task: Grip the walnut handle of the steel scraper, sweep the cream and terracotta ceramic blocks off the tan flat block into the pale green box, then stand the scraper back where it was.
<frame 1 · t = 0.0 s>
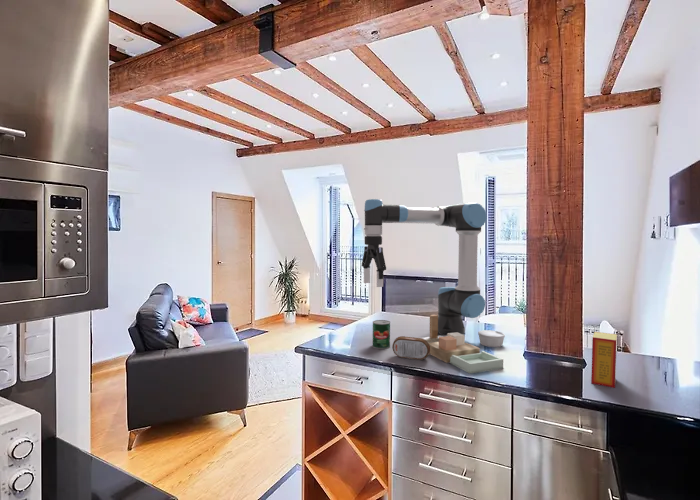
hand: (373, 284, 167), 28 cm above the worktop, tool pointing down, fingers open, 13 cm apart
scraper: (433, 346, 173), on the worktop
tan flat block: (452, 355, 160), on the worktop
terracotta block: (447, 348, 157), point 4 cm above the worktop, touching tan flat block
cream block: (455, 343, 163), point 4 cm above the worktop, touching tan flat block
canned tomato: (381, 346, 173), on the worktop
ramekin: (491, 345, 176), on the worktop
tin: (410, 358, 156), on the worktop
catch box: (476, 365, 147), on the worktop
baking soda box: (603, 381, 132), on the worktop
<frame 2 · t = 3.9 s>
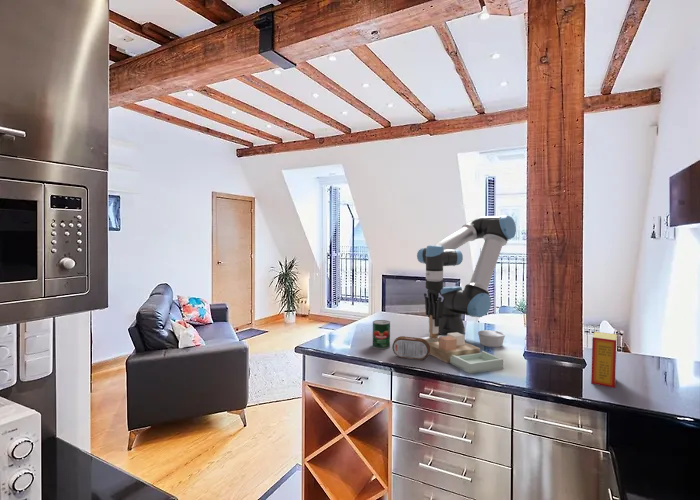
hand: (433, 332, 173), 6 cm above the worktop, tool pointing down, fingers closed on scraper, 2 cm apart
scraper: (433, 346, 173), on the worktop, touching gripper
everything else where it was.
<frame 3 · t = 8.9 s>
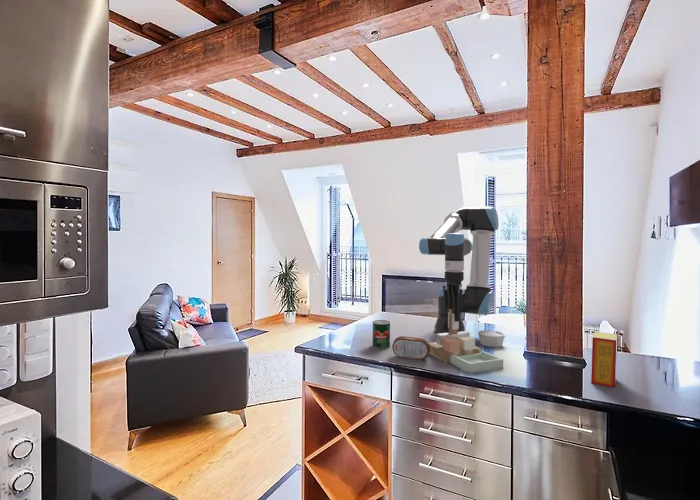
hand: (453, 328, 159), 11 cm above the worktop, tool pointing down, fingers closed on scraper, 2 cm apart
scraper: (453, 342, 159), point 5 cm above the worktop, touching gripper
terracotta block: (451, 349, 154), point 4 cm above the worktop, touching tan flat block
cream block: (465, 348, 157), point 4 cm above the worktop, touching tan flat block
everything else where it was.
when the fingers open (8 cm above the worktop, at t = 15.6 s): scraper drops 2 cm, on the worktop.
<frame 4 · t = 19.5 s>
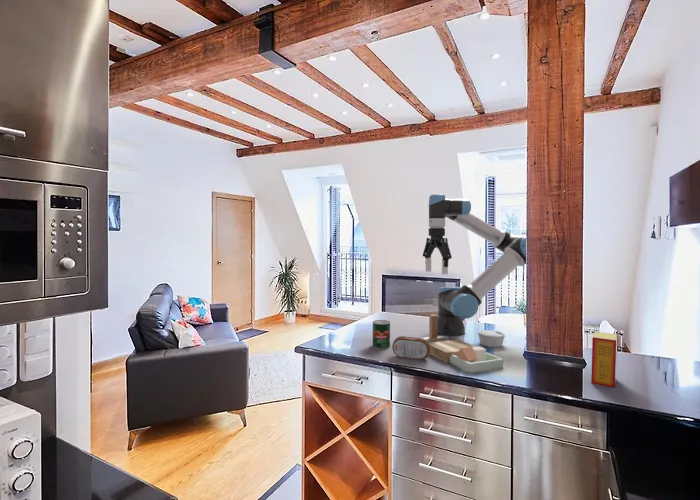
hand: (436, 272, 183), 32 cm above the worktop, tool pointing down, fingers open, 13 cm apart
scraper: (433, 346, 173), on the worktop
terracotta block: (464, 358, 148), point 3 cm above the worktop, tilted 46°, touching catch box
cream block: (473, 353, 152), point 3 cm above the worktop, tilted 90°, touching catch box
everything else where it was.
at the end: cream block inside the target area on the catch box (5.0 cm from its centre), point 3.3 cm above the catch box's base; terracotta block inside the target area on the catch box (4.5 cm from its centre), point 2.7 cm above the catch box's base; the gripper is holding nothing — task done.
